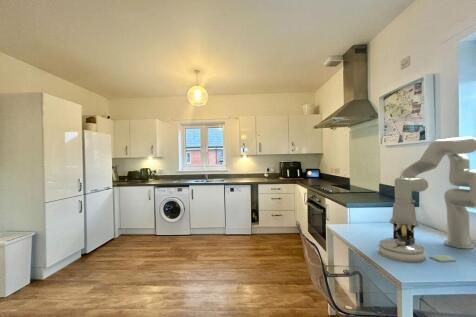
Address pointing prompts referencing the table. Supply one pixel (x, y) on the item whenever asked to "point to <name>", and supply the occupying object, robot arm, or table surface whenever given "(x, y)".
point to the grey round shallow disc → (402, 246)
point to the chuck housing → (402, 256)
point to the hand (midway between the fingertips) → (404, 236)
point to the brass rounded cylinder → (404, 231)
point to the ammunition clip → (395, 232)
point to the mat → (443, 258)
